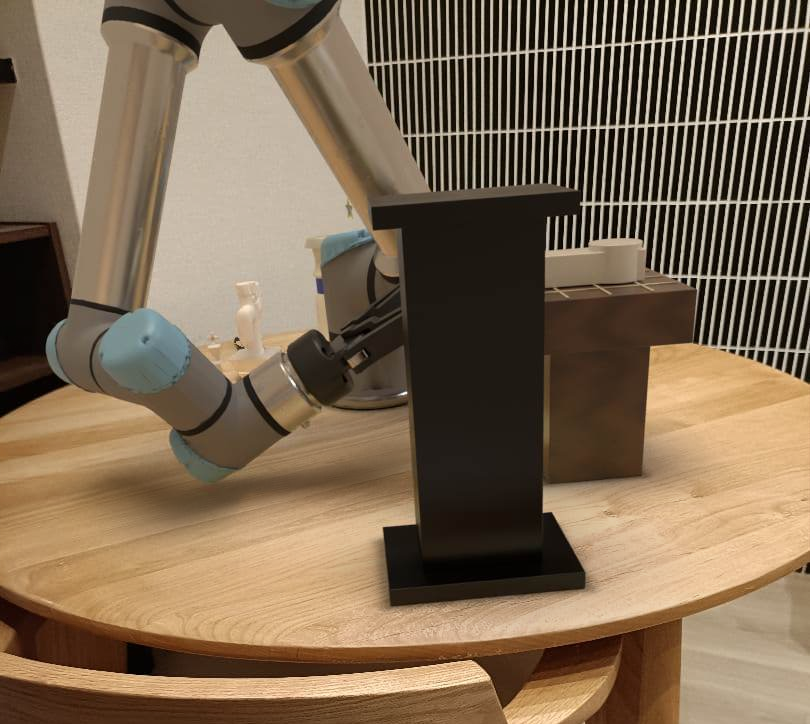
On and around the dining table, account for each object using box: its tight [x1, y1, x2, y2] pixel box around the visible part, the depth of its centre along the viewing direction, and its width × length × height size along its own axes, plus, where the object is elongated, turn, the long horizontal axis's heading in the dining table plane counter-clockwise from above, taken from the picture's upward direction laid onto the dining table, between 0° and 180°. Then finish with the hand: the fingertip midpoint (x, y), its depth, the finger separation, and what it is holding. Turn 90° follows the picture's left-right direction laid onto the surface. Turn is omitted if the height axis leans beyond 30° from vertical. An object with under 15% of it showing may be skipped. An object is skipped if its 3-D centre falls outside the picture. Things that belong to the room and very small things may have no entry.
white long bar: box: [398, 237, 647, 288], centre depth 81 cm, size 24×5×4 cm, turn 94°
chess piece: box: [206, 331, 225, 374], centre depth 122 cm, size 5×5×10 cm
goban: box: [543, 266, 698, 484], centre depth 87 cm, size 16×16×20 cm
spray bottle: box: [304, 197, 354, 342], centre depth 143 cm, size 8×9×25 cm
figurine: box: [228, 280, 283, 379], centre depth 132 cm, size 7×9×15 cm
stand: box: [367, 182, 587, 607], centre depth 65 cm, size 16×12×30 cm
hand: (488, 251), depth 81 cm, fingers open, 9 cm apart
